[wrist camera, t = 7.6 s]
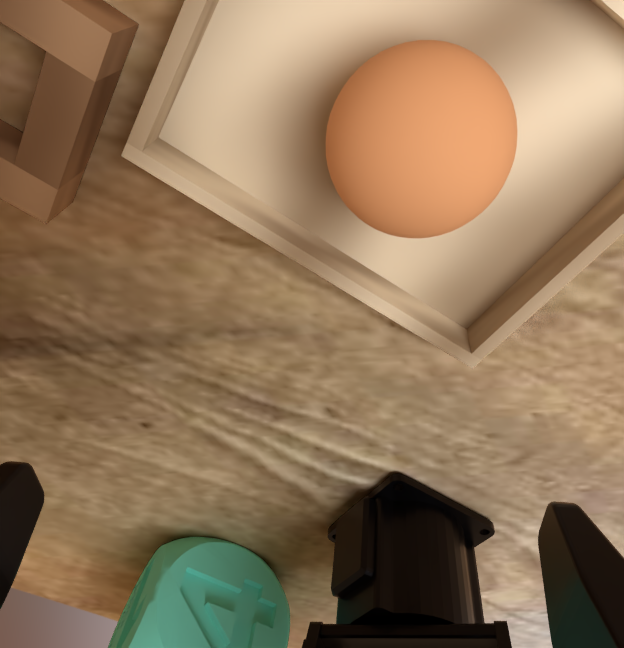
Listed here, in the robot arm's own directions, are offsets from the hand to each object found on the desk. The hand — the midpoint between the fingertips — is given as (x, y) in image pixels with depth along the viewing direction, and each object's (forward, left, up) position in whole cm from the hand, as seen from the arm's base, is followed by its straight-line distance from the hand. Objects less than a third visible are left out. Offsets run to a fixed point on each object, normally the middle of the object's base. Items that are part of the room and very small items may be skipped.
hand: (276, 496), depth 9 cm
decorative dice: (-7, +25, -13) cm, 29 cm away
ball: (0, -4, -12) cm, 12 cm away
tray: (0, -4, -12) cm, 13 cm away
